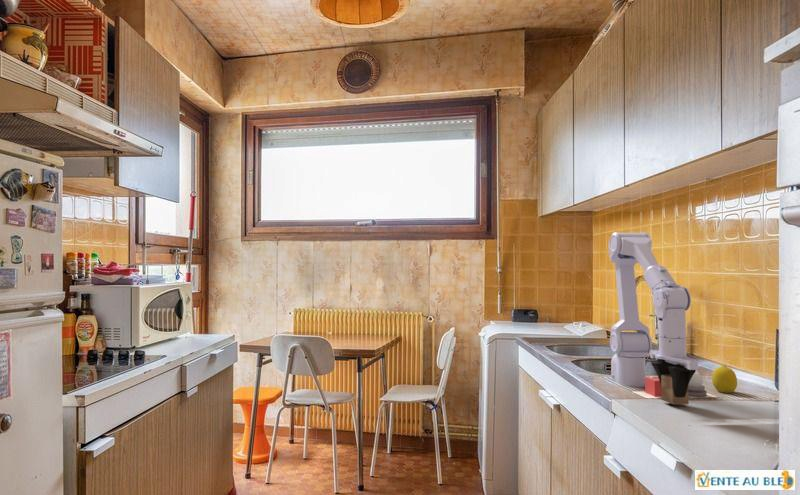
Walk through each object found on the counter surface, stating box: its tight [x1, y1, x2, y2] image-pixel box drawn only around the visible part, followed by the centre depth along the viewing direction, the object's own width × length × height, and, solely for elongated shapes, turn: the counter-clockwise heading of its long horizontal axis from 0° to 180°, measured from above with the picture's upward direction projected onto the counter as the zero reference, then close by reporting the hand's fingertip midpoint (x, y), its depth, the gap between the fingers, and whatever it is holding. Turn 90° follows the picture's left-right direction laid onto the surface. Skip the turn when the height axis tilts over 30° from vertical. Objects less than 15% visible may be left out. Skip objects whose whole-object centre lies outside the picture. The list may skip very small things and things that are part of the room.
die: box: [644, 376, 662, 397], centre depth 121 cm, size 4×4×4 cm
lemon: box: [711, 364, 738, 394], centre depth 124 cm, size 6×6×8 cm
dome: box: [688, 371, 706, 392], centre depth 121 cm, size 6×6×5 cm
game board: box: [631, 390, 717, 399], centre depth 116 cm, size 16×19×2 cm
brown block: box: [661, 375, 690, 405], centre depth 111 cm, size 4×4×6 cm
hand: (673, 394), depth 111 cm, fingers closed on brown block, 4 cm apart
